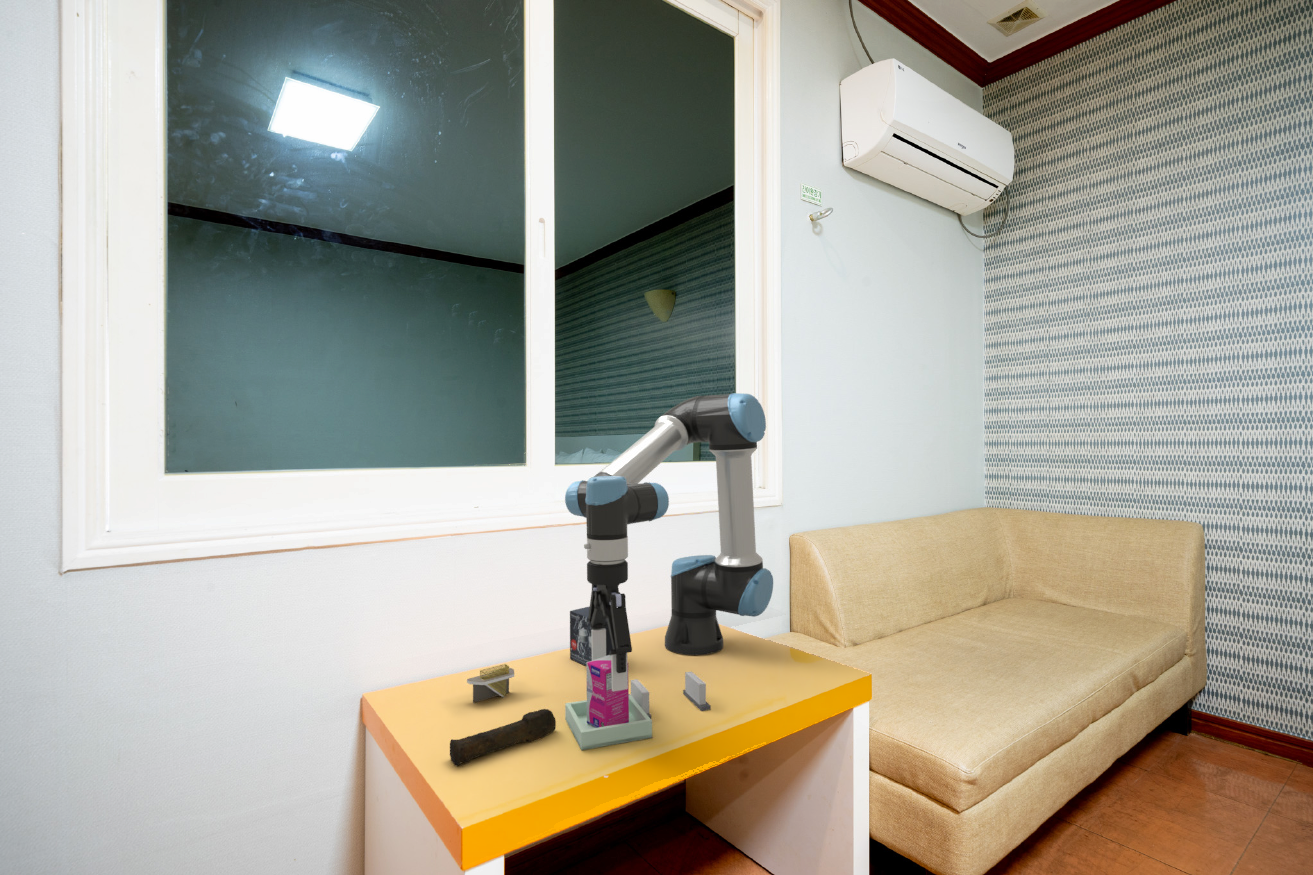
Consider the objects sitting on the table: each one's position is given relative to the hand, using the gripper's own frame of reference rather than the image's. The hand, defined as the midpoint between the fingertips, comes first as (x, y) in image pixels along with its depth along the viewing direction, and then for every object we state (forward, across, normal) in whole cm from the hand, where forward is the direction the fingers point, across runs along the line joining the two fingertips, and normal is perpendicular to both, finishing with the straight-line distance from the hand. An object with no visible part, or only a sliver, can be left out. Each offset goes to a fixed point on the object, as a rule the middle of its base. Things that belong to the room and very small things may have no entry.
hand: (608, 675), depth 112 cm
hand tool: (+10, 0, -19) cm, 21 cm away
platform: (+10, -21, -19) cm, 30 cm away
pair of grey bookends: (+10, -5, +14) cm, 17 cm away
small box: (+10, -34, +6) cm, 36 cm away
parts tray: (+9, 0, 0) cm, 9 cm away
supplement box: (+9, 0, 0) cm, 9 cm away
